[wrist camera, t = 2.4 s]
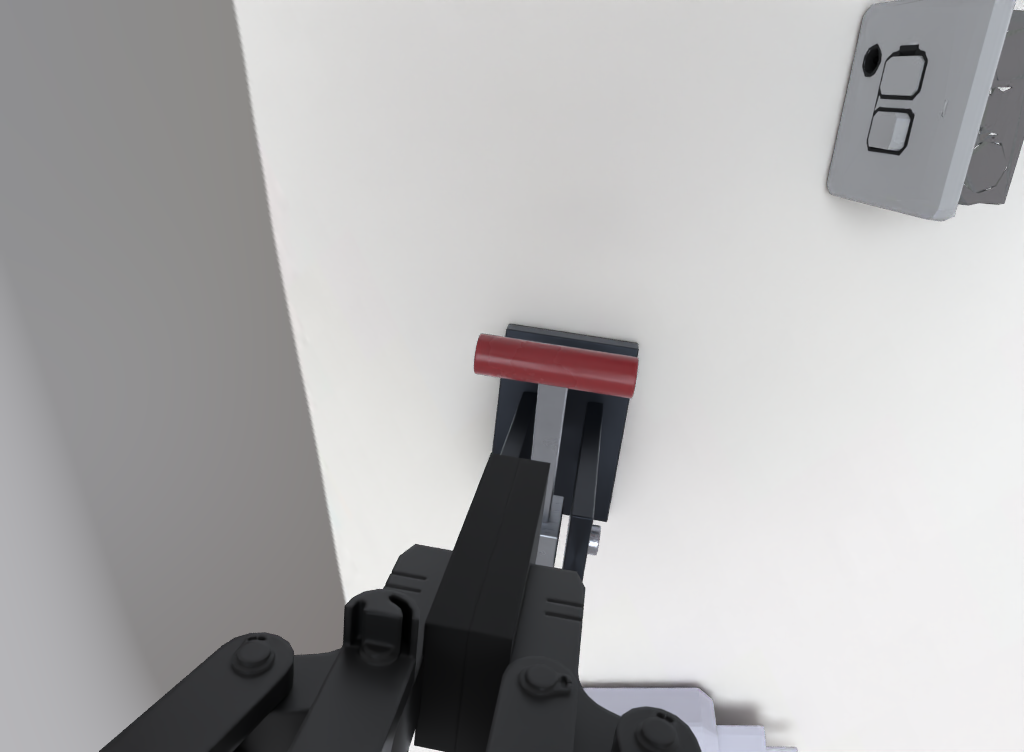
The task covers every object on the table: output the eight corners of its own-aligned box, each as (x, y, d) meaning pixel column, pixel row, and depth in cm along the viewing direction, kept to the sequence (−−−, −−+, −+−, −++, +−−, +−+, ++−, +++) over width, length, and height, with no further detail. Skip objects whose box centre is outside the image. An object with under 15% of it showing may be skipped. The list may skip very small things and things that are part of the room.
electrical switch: (862, 3, 38) (955, -21, 29) (966, 12, 38) (1089, -11, 29) (821, 193, 41) (893, 220, 33) (916, 200, 41) (1013, 230, 33)
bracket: (509, 323, 46) (458, 417, 33) (638, 343, 46) (642, 448, 32) (489, 492, 51) (437, 638, 37) (607, 513, 50) (598, 670, 36)
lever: (484, 317, 29) (471, 360, 27) (640, 341, 28) (636, 386, 27) (480, 515, 38) (470, 555, 37) (597, 535, 38) (592, 578, 36)
